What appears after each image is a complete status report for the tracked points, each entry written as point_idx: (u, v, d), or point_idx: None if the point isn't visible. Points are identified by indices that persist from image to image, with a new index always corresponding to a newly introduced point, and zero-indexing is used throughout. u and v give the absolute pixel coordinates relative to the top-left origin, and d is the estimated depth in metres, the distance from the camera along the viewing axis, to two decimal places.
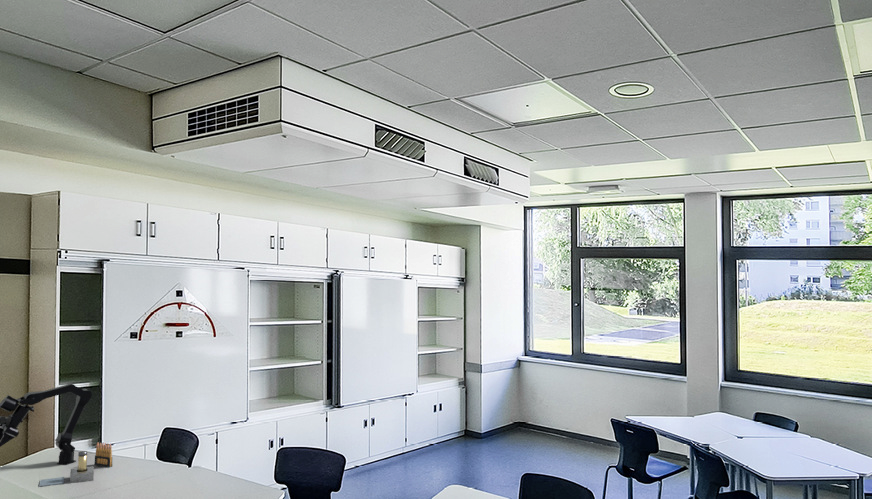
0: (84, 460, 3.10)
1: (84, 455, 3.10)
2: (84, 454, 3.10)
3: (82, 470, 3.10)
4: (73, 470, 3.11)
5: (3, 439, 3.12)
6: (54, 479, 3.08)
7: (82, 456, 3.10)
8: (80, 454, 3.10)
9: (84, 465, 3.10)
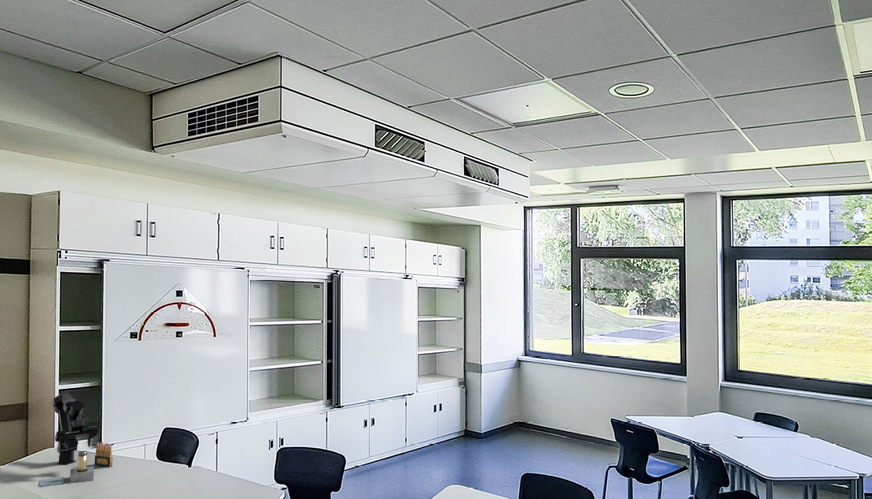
0: (84, 460, 3.10)
1: (84, 455, 3.10)
2: (84, 454, 3.10)
3: (82, 470, 3.10)
4: (73, 470, 3.11)
5: None
6: (54, 479, 3.08)
7: (82, 456, 3.10)
8: (80, 454, 3.10)
9: (84, 465, 3.10)
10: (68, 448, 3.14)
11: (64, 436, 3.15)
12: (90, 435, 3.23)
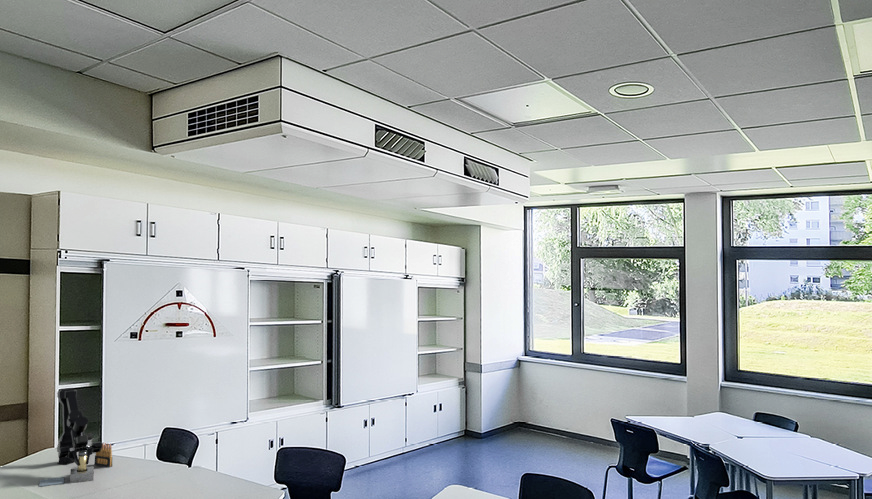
0: (84, 460, 3.10)
1: (84, 455, 3.10)
2: (84, 454, 3.10)
3: (82, 470, 3.10)
4: (73, 470, 3.11)
5: None
6: (54, 479, 3.08)
7: (82, 456, 3.10)
8: (80, 454, 3.10)
9: (84, 465, 3.10)
10: (78, 464, 3.09)
11: (74, 452, 3.10)
12: (88, 452, 3.14)
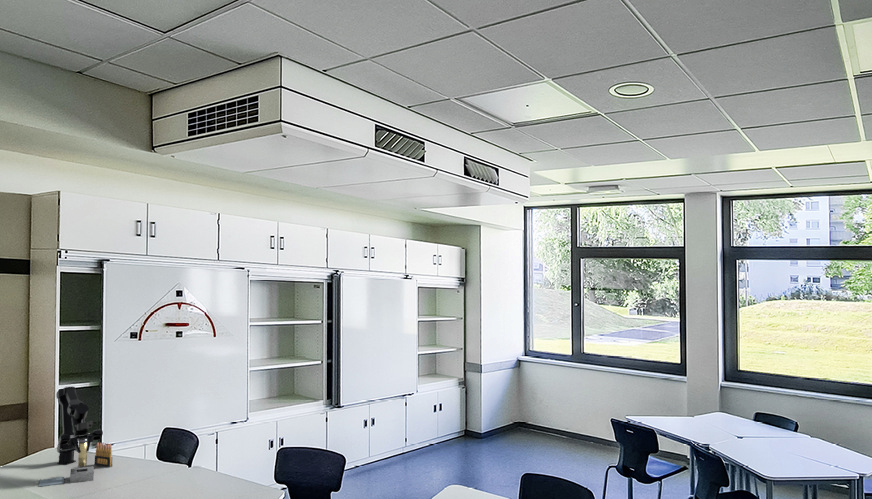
0: (84, 447, 3.11)
1: (84, 442, 3.11)
2: (85, 441, 3.11)
3: (82, 457, 3.10)
4: (73, 470, 3.11)
5: None
6: (54, 479, 3.08)
7: (82, 443, 3.10)
8: (81, 441, 3.10)
9: (84, 452, 3.11)
10: (78, 451, 3.09)
11: (74, 439, 3.10)
12: (89, 439, 3.15)
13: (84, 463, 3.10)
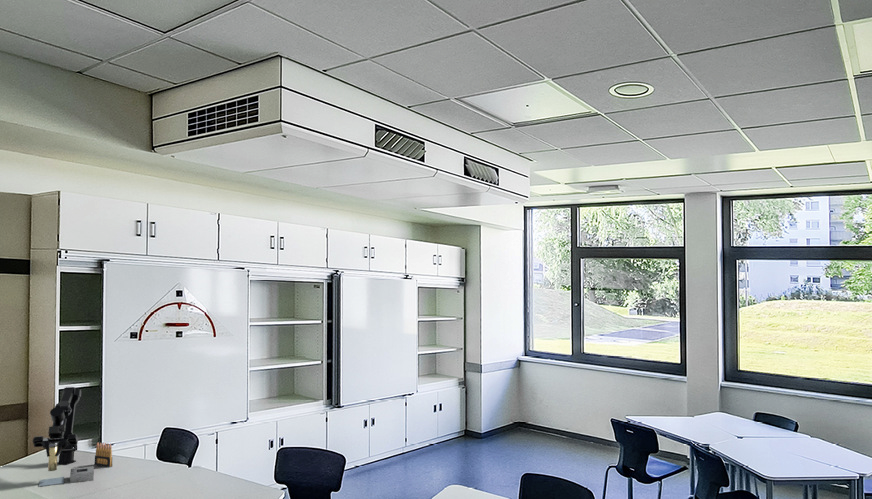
0: (53, 451, 3.04)
1: (53, 446, 3.04)
2: (53, 445, 3.04)
3: (51, 462, 3.04)
4: (73, 470, 3.11)
5: (61, 448, 3.08)
6: (54, 479, 3.08)
7: (51, 447, 3.04)
8: (49, 445, 3.04)
9: (53, 457, 3.04)
10: (47, 455, 3.03)
11: (45, 442, 3.06)
12: (60, 444, 3.08)
13: (53, 468, 3.04)
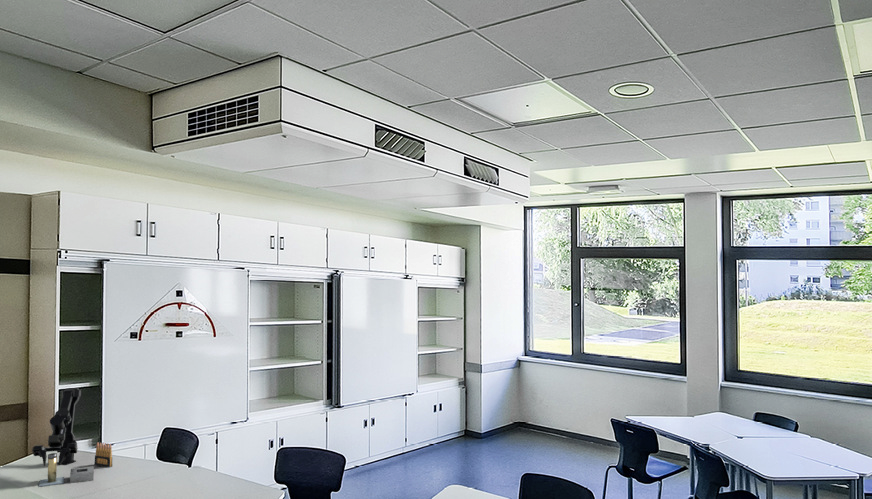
0: (52, 463, 3.04)
1: (52, 458, 3.04)
2: (52, 457, 3.03)
3: (50, 473, 3.03)
4: (73, 470, 3.11)
5: (63, 456, 3.08)
6: None
7: (50, 458, 3.03)
8: (48, 456, 3.03)
9: (52, 468, 3.04)
10: None
11: (42, 451, 3.05)
12: (63, 452, 3.08)
13: (52, 479, 3.04)
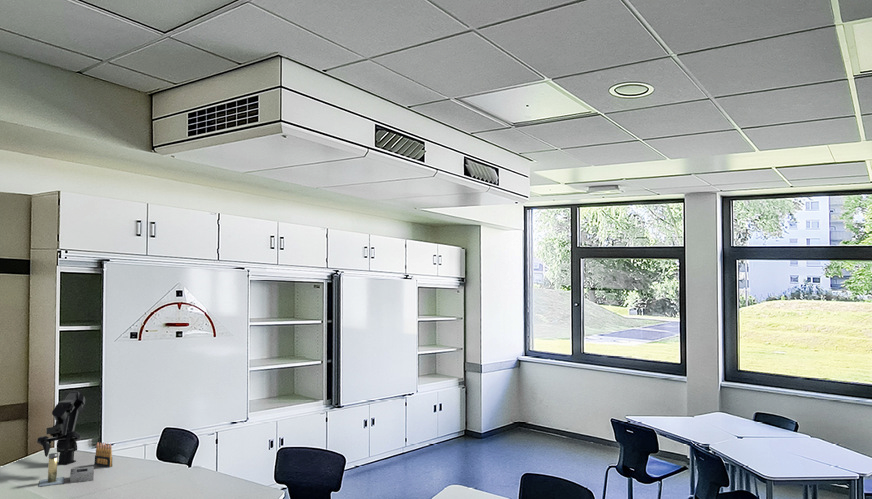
0: (53, 463, 3.04)
1: (53, 458, 3.04)
2: (53, 457, 3.04)
3: (51, 473, 3.03)
4: (73, 470, 3.11)
5: (68, 445, 3.17)
6: None
7: (51, 458, 3.04)
8: (49, 456, 3.04)
9: (53, 468, 3.04)
10: (45, 455, 3.14)
11: (42, 443, 3.16)
12: (66, 441, 3.17)
13: (52, 479, 3.04)
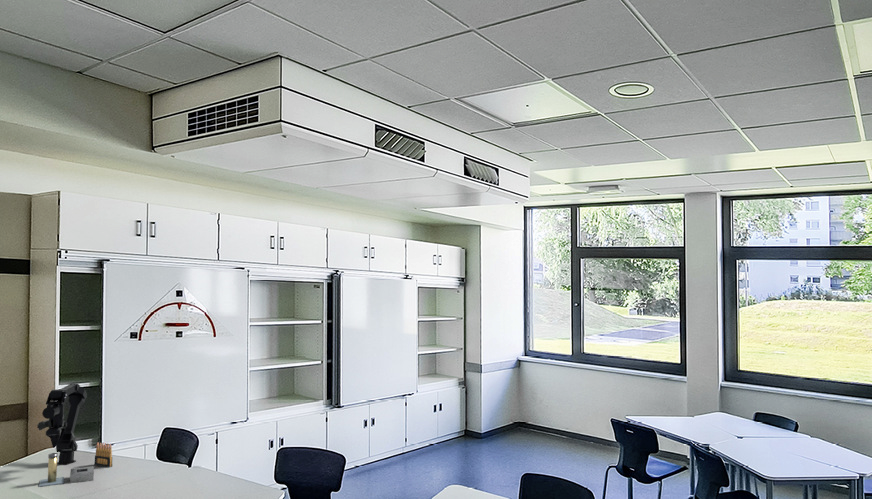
0: (53, 462, 3.04)
1: (53, 457, 3.04)
2: (52, 456, 3.04)
3: (51, 473, 3.04)
4: (73, 470, 3.11)
5: (52, 440, 3.18)
6: None
7: (50, 458, 3.04)
8: (49, 456, 3.04)
9: (53, 468, 3.04)
10: (56, 442, 3.28)
11: None
12: None
13: (52, 479, 3.04)
